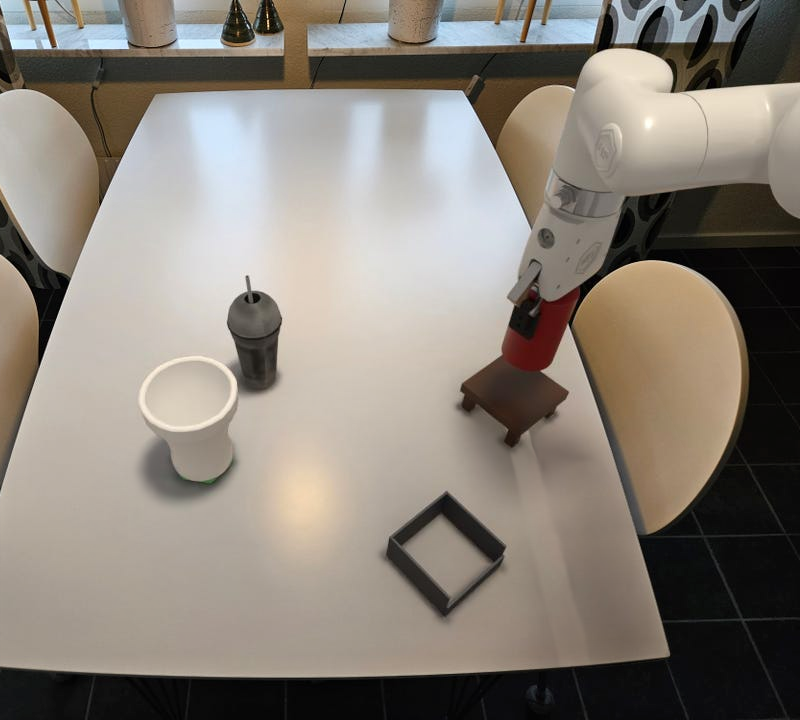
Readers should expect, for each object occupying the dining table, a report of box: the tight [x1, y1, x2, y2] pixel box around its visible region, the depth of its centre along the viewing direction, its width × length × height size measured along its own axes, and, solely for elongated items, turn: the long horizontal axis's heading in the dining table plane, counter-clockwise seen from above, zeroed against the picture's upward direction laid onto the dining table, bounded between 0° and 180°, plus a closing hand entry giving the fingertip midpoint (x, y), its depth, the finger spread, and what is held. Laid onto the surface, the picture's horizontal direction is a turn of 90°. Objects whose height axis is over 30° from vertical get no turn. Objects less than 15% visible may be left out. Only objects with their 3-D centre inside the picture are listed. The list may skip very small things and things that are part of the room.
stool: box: [459, 354, 570, 449], centre depth 88 cm, size 10×10×5 cm
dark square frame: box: [385, 490, 508, 618], centre depth 73 cm, size 9×9×4 cm
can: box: [500, 280, 581, 372], centre depth 77 cm, size 6×6×11 cm
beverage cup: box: [226, 274, 283, 390], centre depth 86 cm, size 7×7×20 cm
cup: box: [137, 355, 239, 484], centre depth 78 cm, size 11×11×14 cm
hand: (539, 318), depth 76 cm, fingers closed on can, 6 cm apart
